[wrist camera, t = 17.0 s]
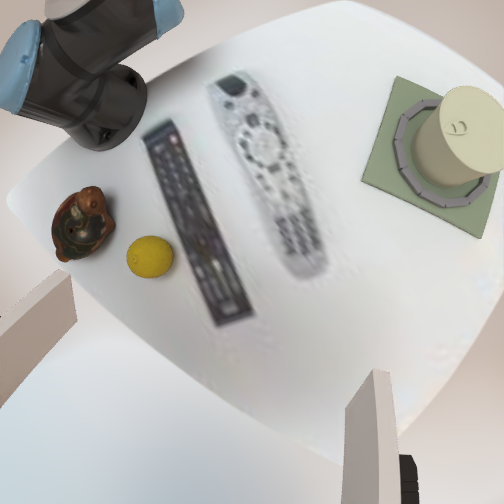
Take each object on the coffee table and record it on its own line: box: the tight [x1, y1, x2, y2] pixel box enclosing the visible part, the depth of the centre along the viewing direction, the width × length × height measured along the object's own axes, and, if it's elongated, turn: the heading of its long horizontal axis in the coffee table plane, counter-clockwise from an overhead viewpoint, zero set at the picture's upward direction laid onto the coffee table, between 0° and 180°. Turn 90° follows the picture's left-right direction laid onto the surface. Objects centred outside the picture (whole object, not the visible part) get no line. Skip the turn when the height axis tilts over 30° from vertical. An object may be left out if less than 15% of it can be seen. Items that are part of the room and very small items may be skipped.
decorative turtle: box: [52, 186, 115, 262], centre depth 44 cm, size 10×15×8 cm, turn 137°
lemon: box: [127, 236, 173, 278], centre depth 40 cm, size 6×6×8 cm
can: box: [411, 86, 504, 189], centre depth 28 cm, size 9×9×12 cm
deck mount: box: [362, 76, 500, 239], centre depth 34 cm, size 18×16×2 cm
